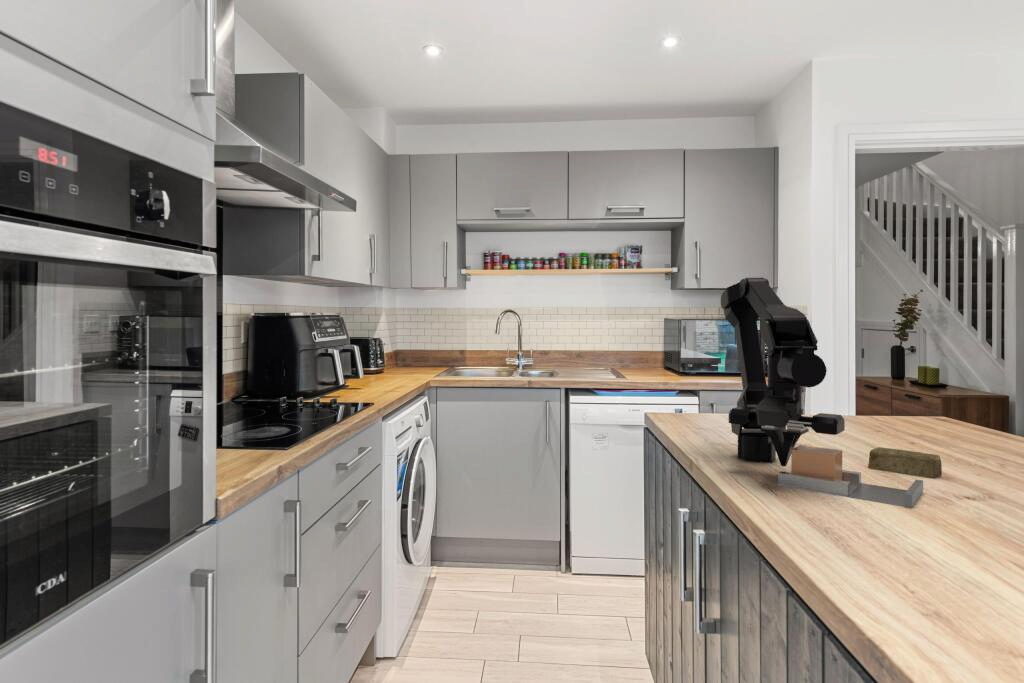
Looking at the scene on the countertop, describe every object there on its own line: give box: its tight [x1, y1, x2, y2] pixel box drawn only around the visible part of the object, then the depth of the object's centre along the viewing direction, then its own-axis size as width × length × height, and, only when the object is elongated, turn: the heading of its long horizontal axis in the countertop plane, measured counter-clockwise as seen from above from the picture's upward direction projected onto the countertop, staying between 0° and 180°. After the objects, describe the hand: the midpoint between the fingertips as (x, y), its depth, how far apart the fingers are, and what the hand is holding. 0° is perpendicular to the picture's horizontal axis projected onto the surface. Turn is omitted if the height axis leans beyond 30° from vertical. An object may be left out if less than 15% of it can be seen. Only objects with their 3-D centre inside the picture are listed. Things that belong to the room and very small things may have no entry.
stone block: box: [867, 447, 943, 479], centre depth 114 cm, size 6×12×5 cm, turn 43°
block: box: [790, 444, 843, 481], centre depth 106 cm, size 7×5×6 cm
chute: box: [776, 469, 924, 509], centre depth 102 cm, size 20×11×3 cm, turn 48°
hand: (783, 466), depth 109 cm, fingers closed
